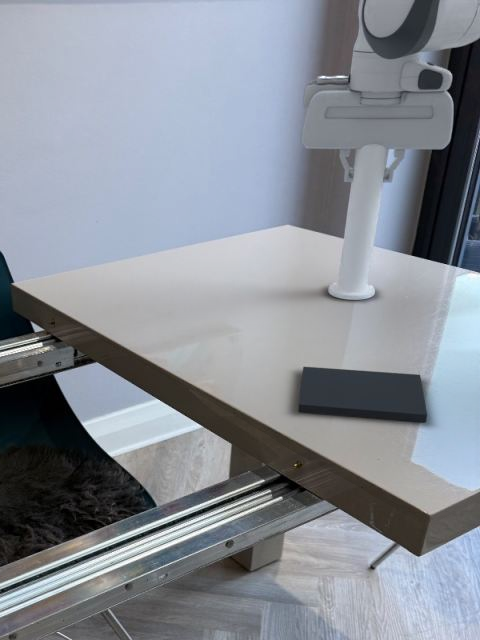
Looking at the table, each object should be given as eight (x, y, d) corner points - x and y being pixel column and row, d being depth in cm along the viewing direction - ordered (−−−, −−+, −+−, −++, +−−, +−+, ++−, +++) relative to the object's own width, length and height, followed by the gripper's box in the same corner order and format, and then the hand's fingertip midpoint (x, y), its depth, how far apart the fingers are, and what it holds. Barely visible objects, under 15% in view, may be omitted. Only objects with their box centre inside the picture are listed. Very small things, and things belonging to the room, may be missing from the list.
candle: (353, 282, 128) (378, 113, 114) (384, 295, 123) (414, 118, 109) (318, 290, 126) (340, 118, 112) (348, 303, 121) (374, 124, 107)
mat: (418, 381, 97) (420, 374, 96) (425, 422, 88) (427, 414, 88) (302, 373, 100) (303, 366, 100) (298, 412, 91) (299, 404, 91)
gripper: (304, 78, 107) (294, 185, 115) (465, 75, 103) (442, 187, 110) (306, 73, 112) (296, 176, 120) (459, 70, 108) (438, 178, 115)
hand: (367, 181), depth 115 cm, fingers closed on candle, 4 cm apart
